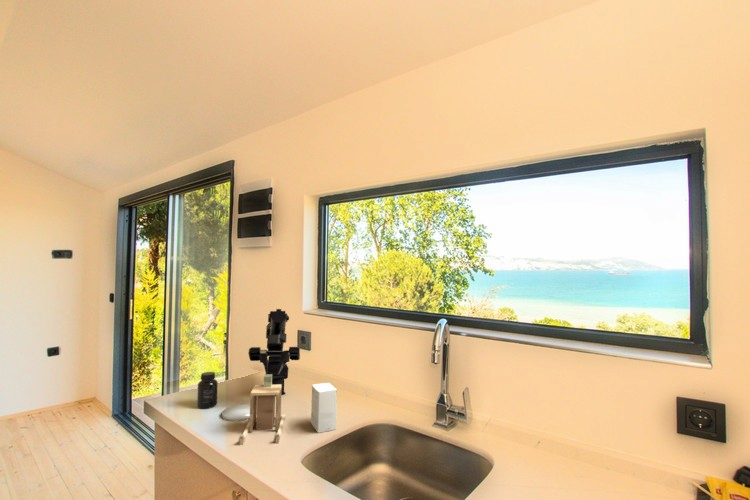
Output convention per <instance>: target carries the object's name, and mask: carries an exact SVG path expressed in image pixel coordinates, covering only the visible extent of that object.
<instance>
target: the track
mask: <svg viewBox="0 0 750 500" xmlns="http://www.w3.org/2000/svg"><path fill="white" fill-rule="evenodd" d="M285 418H286V414H281V420H280V421H279V426H278V430H277V433H276V434H275V444H280V443H279V442H280V440H281V439H280V438H281V436H282V431H283V427H284V423H285V420H286V419H285ZM275 419H276V416H275ZM246 424H247V425H246V427H245V429H244V431H243V433H242V434H240V435H239V446H242V445H244V443H245V441H246V438H247V436H248V434H249V426H250V419H248V421H247V423H246Z"/></svg>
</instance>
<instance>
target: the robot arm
mask: <svg viewBox="0 0 750 500" xmlns="http://www.w3.org/2000/svg"><path fill="white" fill-rule="evenodd" d="M289 320H290V317H289V315H288V313H286V310H282V308H276V310H270V311H269V313H268V316H267V323H268V324H267V325H266V326H265V327H266V332H265V333H266V334H265V339H267V340H266V349H261V347H260V346H258V347H257V346H251V347H250V348H249V349H248V357H249V361H251V362H260V363H262V365H263V367H264V371H265V375H267V374H272V385H273V384H282V388H281V396H282V395H286V392H285V380H287V379H288V377H289V367H288V364H287V363H289V362H290V360H291V361H299V360H300V359H301V351H300V349H301V348H300V347H299V346H289V347H288V350H284V346H285V345H284V344H286V343H287V333H286V325H287V322H288V321H289ZM275 397H276V395H275Z"/></svg>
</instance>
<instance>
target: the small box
mask: <svg viewBox="0 0 750 500" xmlns="http://www.w3.org/2000/svg"><path fill="white" fill-rule="evenodd" d="M337 392H338V390H337V388H336V387H334V385H332V384H331V383H330V382H324V383H315V384H311V409H310V410H311V414H310V415H311V417H310V424H311V425H312V427H313V428H314V429H315V431H316V432H317V433H318V434H321V433H325V432H331V431H335V430H337V407H338V406H337V402H338V401H337V400H338V399H337V398H338V397H337V396H338V393H337Z"/></svg>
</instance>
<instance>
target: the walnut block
mask: <svg viewBox="0 0 750 500" xmlns="http://www.w3.org/2000/svg"><path fill="white" fill-rule="evenodd" d="M275 417H276V396H275V395H257V420H256V431H267V430H268V431H269V430H270V431H271V430H273V429H274V427H275Z"/></svg>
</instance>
